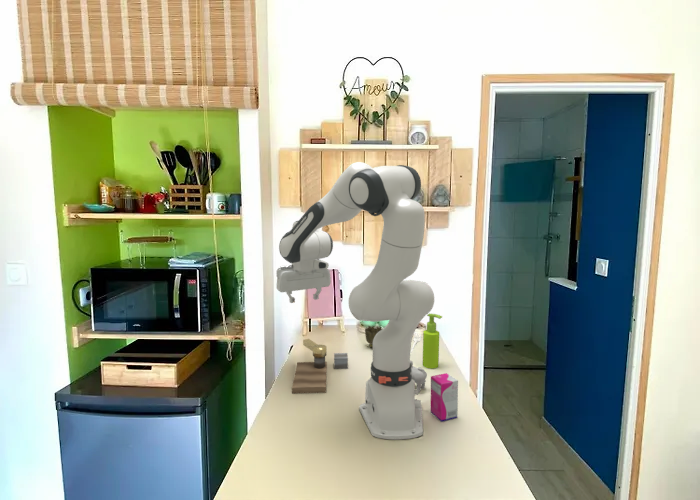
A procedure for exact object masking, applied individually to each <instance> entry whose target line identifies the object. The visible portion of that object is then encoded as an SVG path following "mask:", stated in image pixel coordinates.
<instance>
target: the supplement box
mask: <svg viewBox="0 0 700 500" xmlns="http://www.w3.org/2000/svg"><path fill="white" fill-rule="evenodd" d="M458 394H459V380H458V379H457V378H455V377H453V376H452V375H451V374H449V373H447V372H445V373H440V374H436V375H435V374H434V375H431V376H430V413H431V414H432V415H433V416H434V417H435V418H436V419H437V420H439V421H440V423H444V422H446V421H450V420H454V419H458V415H459V414H458V412H459V411H458V409H459V408H458V407H459V405H458V404H459V403H458V402H459V401H458V399H459V398H458V397H459V395H458Z"/></svg>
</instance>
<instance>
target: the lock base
mask: <svg viewBox="0 0 700 500" xmlns="http://www.w3.org/2000/svg"><path fill="white" fill-rule="evenodd" d="M348 359H349V357H348V353H347V352H336V353H335V352H334V353H333V361H334V363H333V365H334V367H333V369H334V370H339V369H340V370H343V369H345V370H346V369H349V362H348V361H349V360H348ZM313 360H314V361H297V362H296V367H295V371H294V375H293V380H292V386H291V394H316V393H317V394H321V393H322V394H325V393H326V394H327V373H328V372H327V371H328V370H327V368H328V362H327V361H326V356H325V357H322V358H316V357H314V356H313Z"/></svg>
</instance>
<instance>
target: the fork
mask: <svg viewBox="0 0 700 500" xmlns="http://www.w3.org/2000/svg"><path fill="white" fill-rule="evenodd" d="M414 334H415V335H414V336H413V338H412V341H413V344H412V345H411V351H410V354H412V353H413V351H414V349H415V348H416V346H417V343H418V342H420V341H421V340H422V334H421V333H414Z"/></svg>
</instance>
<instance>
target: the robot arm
mask: <svg viewBox="0 0 700 500" xmlns="http://www.w3.org/2000/svg"><path fill="white" fill-rule="evenodd" d="M421 187H422V180H421V176H420V174H419V172H418V171H417V170H416V169H415V168H414V167H411V166H409V165H404V164H399V165H380V166H379V165H378V166H375V167H372V165H370V164H368V163H366V162H362V161H356V162H353V163H351V164H350V165H349V166H347V168H345V169H344V171H343V172H342V173H341V174H340V175H339V177H338V178H337V179H336V181H335V183H334V185H333V186H332V187H331V188H330V190H328V191H327V193H326V194H325V195H324V196H322V197H321V198H320V199H319V200H318V201H316V202H315V203H313V204H312V205H311V206H310V207H309V208H308V209H307V210H306V211H305V212H304V213H303V215H302V216H301V217H300V218H299V220H295V221H294V222H293V223H292V227H291V229H290V230H289V231H288V232H286V233H285V234H283V236H282V237H281V239H280V241H279V245H278V249H279V250H278V251H279V254H280V256H281V257H282V258H283V259H284V260H285V261H286V262H288V263H289V264H291V265H289V264H288V265H281V266H279V267H278V268H277V270H276V278H277V279H276V289H277V291H278V292H279V293H286V295H287V296H288V299H289V300H288V301H289V303H290V304H294V303H295V302H296V301H295V300H296V298H295V297H294V296H292V294H293V292H295V291H296V292H297V291H303V290H312V289H315V293H313V294H312V295H313V297H312V298H313V300H315V301H316V300H319V299H320V298H319V296H320V293H321V292H322V288H327V287H329V286H330V285H331V282H332V281H331V278H332V277H331V273H330V269H329V265H330V264H329V263H328V262H327V261H325V260H322V259H325V258H329V256H330V255H331V254H332V252H333V249H334V242H333V238H332V236H331V235H330V234H329V233H328V232H327V231H324V230H322V229H321V228H325V227H327V226H329V225H334V224H339V223H345V222H348V221H351V220H353V219H354V218H355V217H357V216H358V214H360V213H361V211H364V212H367V213H369V214H370V215H371V216H372V217H378V216H380V215H381V217H382V220H383V227H382V228H383V229H382V233H381V239H380V240H381V241H380V246H379V252H378V257H377V260H376V263H375V265H374V266H373V268H372V270H371V272H370V273H369V274H368V276H367V277H366V278H365V279H364V280H363V281H362V282H360V283H359V284H358V285H356V286H355V287H353V288H352V290H351V291H350V294H349V297H348V309H349V312H350V313H351V315H352V316H353V317H354V318H355V319H356V320H357V321H362V322H372V323H373V322H382V321H384V322H385V321H388V322H387V324H386V325H385V327H383V328H381V329H382V330H381V331H379V332H378V333H377V334H376V335H375V337H374V339H373V348H372V361H371V364H370V377H369V379H368V380H367V381H366V382H365V394H364V395H365V398H364V399H365V400H364V402H363V403H361V404H360V405H359V407H358V410H359V412H360V415H361V416H362V418H363V420H364V422H365V424H366V427H367V428H368V430H369V432H370V434H371V435H372V436H373V437H375V438H378V439H384V440H408V439H410V440H411V439H414V438H417V437H421V436H423V435H424V423H423V421H424V420H423V407H422V406H423V405H422V402H421V401H422V400H421V399H416V397H415V395H418V394H419V393H418V390H417V389H415V388H416V387H415V386H416V383H415V381H414V380H413V379H412V368H411V364H410V360H411V353H410V351H411V349H412V341H413V338H414V334H415V332H416V329H417V328H418V327H419V323H420V322H422V320H423V319H424V318H425V317H426V316H427V315H428V314H430V312H431V311H432V309H433V307H434V305H435V294H434V291H433V289H432V287H431V286H430V285H429V283H427V282H425V281H420V280H413V279H409V280H407V278H409V277H410V276H411V275H413V274H414V273H415V272H416V271H417V269H418V268H419V263H420V258H421V254H422V247H423V241H424V237H425V222H426V220H425V217H426V216H425V215H426V214H425V209H424V207H423V205H422V204H421V203H419V201H417V200H415V198H416V197H417V196H418V195H419V194H420V191H421Z"/></svg>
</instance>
